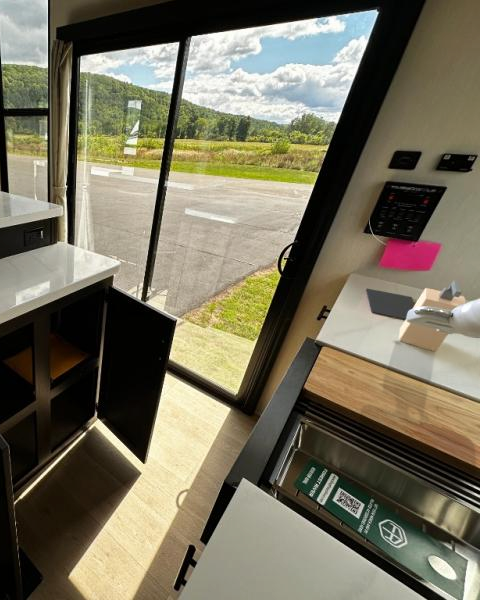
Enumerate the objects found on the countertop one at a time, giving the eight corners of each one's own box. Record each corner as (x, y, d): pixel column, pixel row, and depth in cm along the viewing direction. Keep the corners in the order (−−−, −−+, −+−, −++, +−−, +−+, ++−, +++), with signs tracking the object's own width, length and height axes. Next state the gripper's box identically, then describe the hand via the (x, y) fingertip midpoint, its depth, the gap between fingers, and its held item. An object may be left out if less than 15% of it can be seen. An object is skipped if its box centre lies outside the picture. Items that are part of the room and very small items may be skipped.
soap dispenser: (399, 328, 109) (435, 271, 97) (434, 338, 104) (477, 279, 92) (398, 347, 101) (437, 287, 89) (435, 358, 96) (482, 297, 84)
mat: (411, 298, 124) (411, 296, 124) (423, 324, 110) (423, 322, 110) (366, 289, 131) (366, 288, 131) (371, 312, 117) (372, 311, 116)
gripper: (418, 319, 83) (393, 329, 95) (537, 344, 73) (493, 352, 85) (423, 297, 83) (398, 309, 95) (542, 319, 74) (497, 330, 86)
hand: (443, 330), depth 90 cm, fingers closed
